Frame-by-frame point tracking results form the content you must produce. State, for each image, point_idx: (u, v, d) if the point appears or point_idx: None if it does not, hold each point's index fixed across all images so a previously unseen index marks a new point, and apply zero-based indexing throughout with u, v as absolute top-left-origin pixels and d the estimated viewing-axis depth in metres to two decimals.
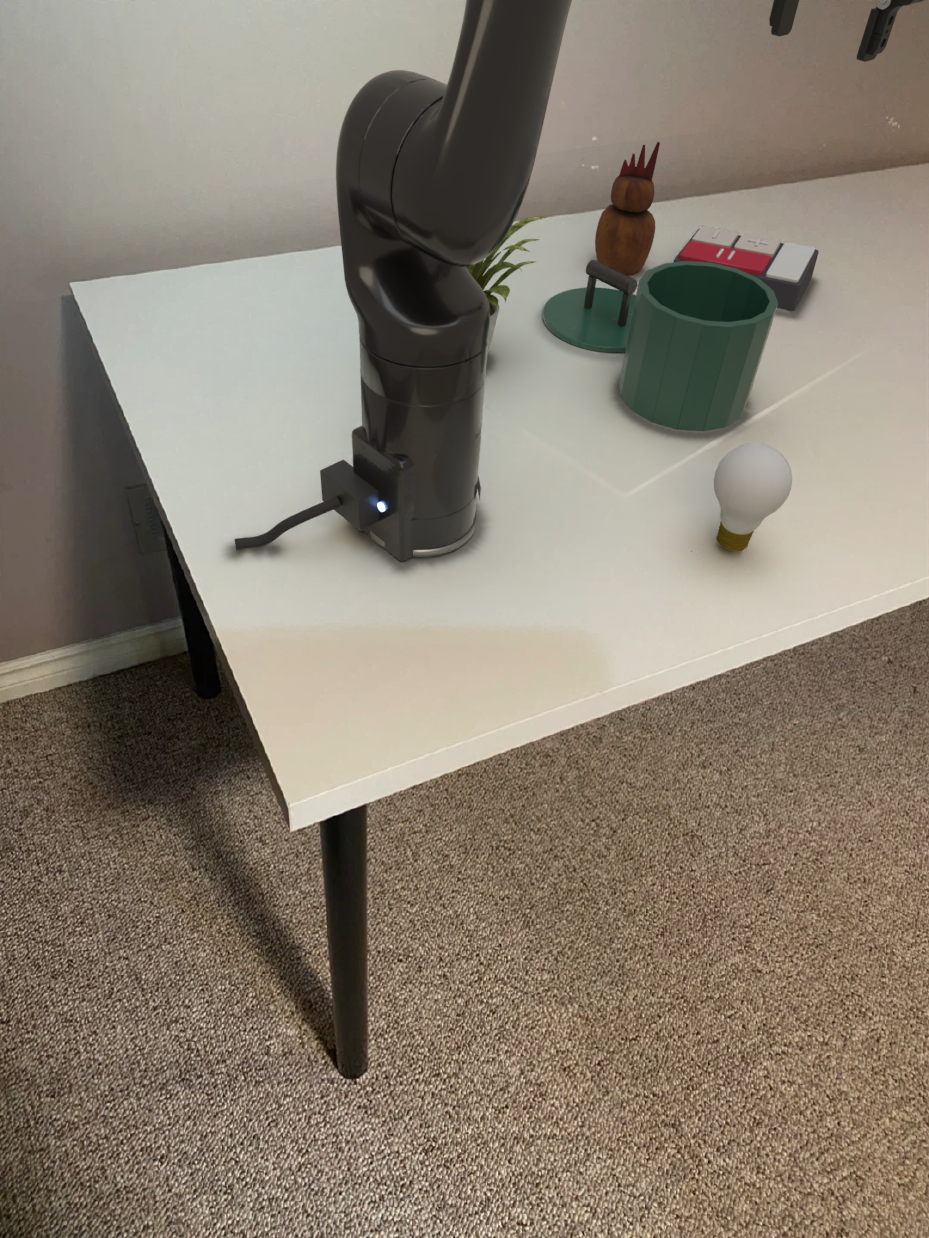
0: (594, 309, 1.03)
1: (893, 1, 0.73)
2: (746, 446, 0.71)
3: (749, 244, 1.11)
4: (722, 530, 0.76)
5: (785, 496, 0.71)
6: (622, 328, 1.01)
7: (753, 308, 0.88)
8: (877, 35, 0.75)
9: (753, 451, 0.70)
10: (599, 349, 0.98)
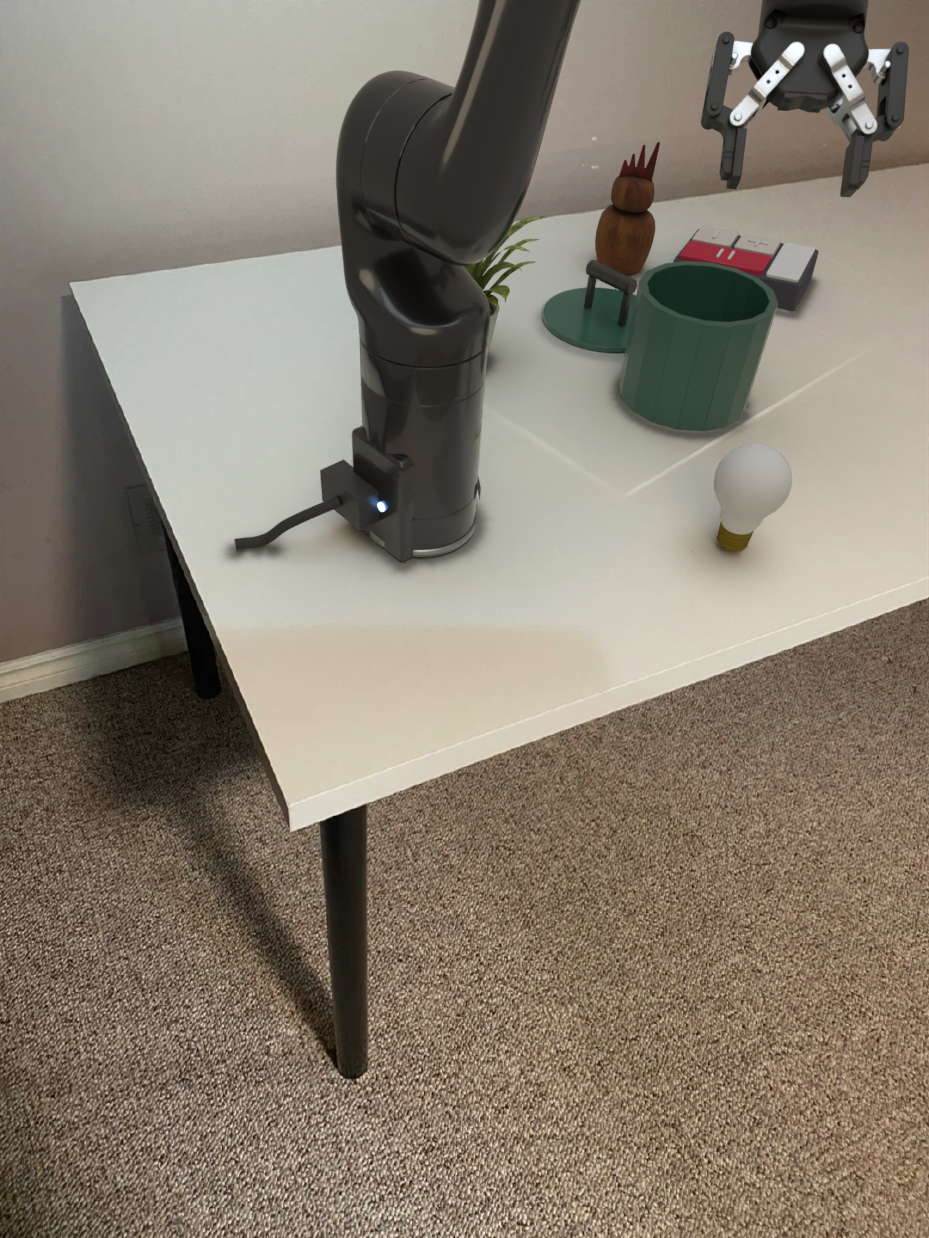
0: (594, 309, 1.03)
1: (875, 128, 0.68)
2: (746, 446, 0.71)
3: (749, 244, 1.11)
4: (722, 530, 0.76)
5: (785, 496, 0.71)
6: (622, 328, 1.01)
7: (753, 308, 0.88)
8: (864, 163, 0.68)
9: (753, 451, 0.70)
10: (599, 349, 0.98)
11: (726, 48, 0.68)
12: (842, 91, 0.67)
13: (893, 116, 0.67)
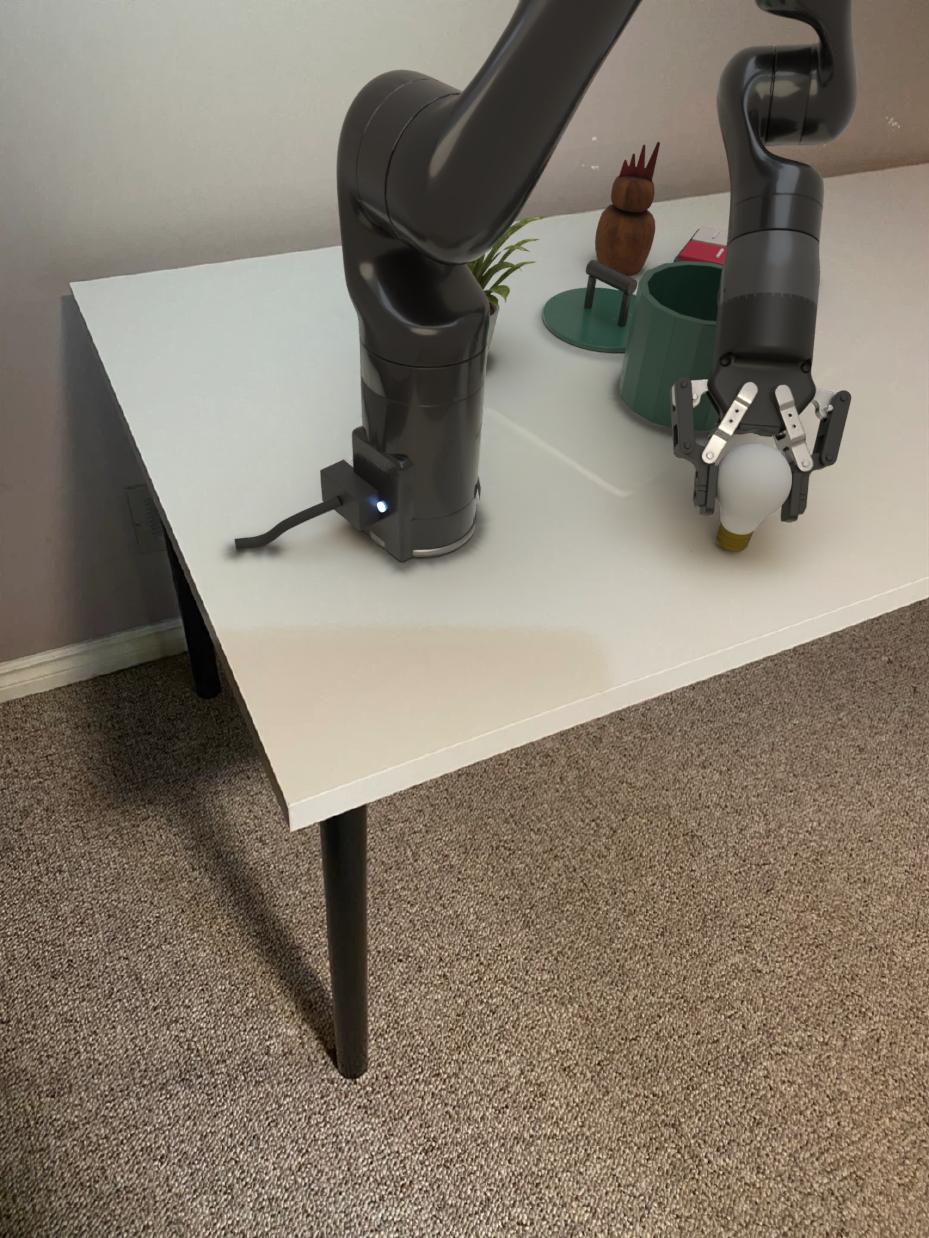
0: (594, 309, 1.03)
1: None
2: (746, 446, 0.71)
3: None
4: (722, 530, 0.76)
5: (785, 496, 0.71)
6: (622, 328, 1.01)
7: None
8: (802, 495, 0.72)
9: (753, 451, 0.70)
10: (599, 349, 0.98)
11: (686, 391, 0.72)
12: (786, 428, 0.71)
13: (827, 455, 0.71)
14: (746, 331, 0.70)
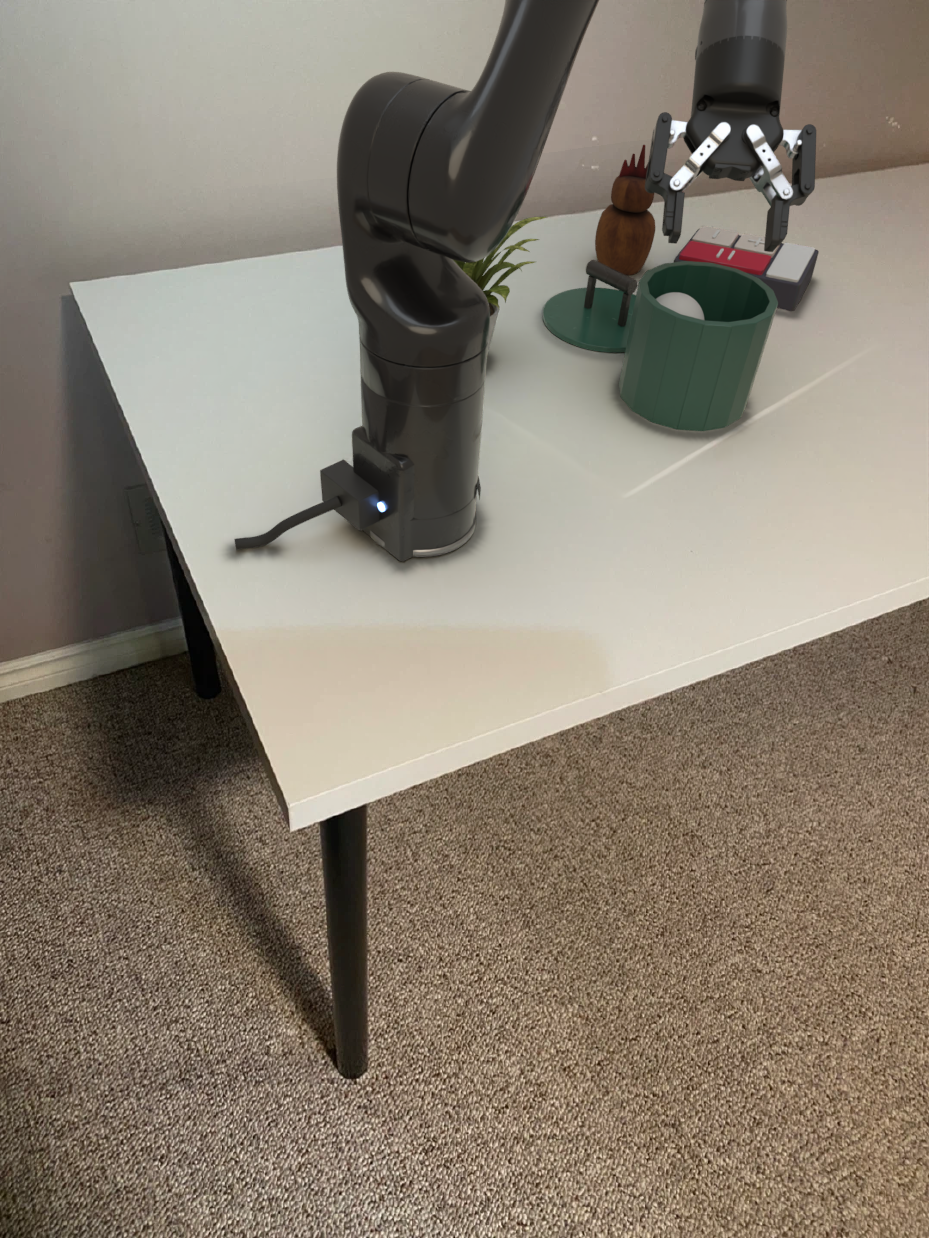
0: (594, 309, 1.03)
1: (791, 194, 0.80)
2: (659, 296, 0.87)
3: (749, 244, 1.11)
4: None
5: None
6: (622, 328, 1.01)
7: (753, 308, 0.88)
8: (783, 223, 0.80)
9: (663, 298, 0.87)
10: (599, 349, 0.98)
11: (665, 126, 0.80)
12: (763, 163, 0.79)
13: (806, 185, 0.79)
14: (720, 72, 0.78)
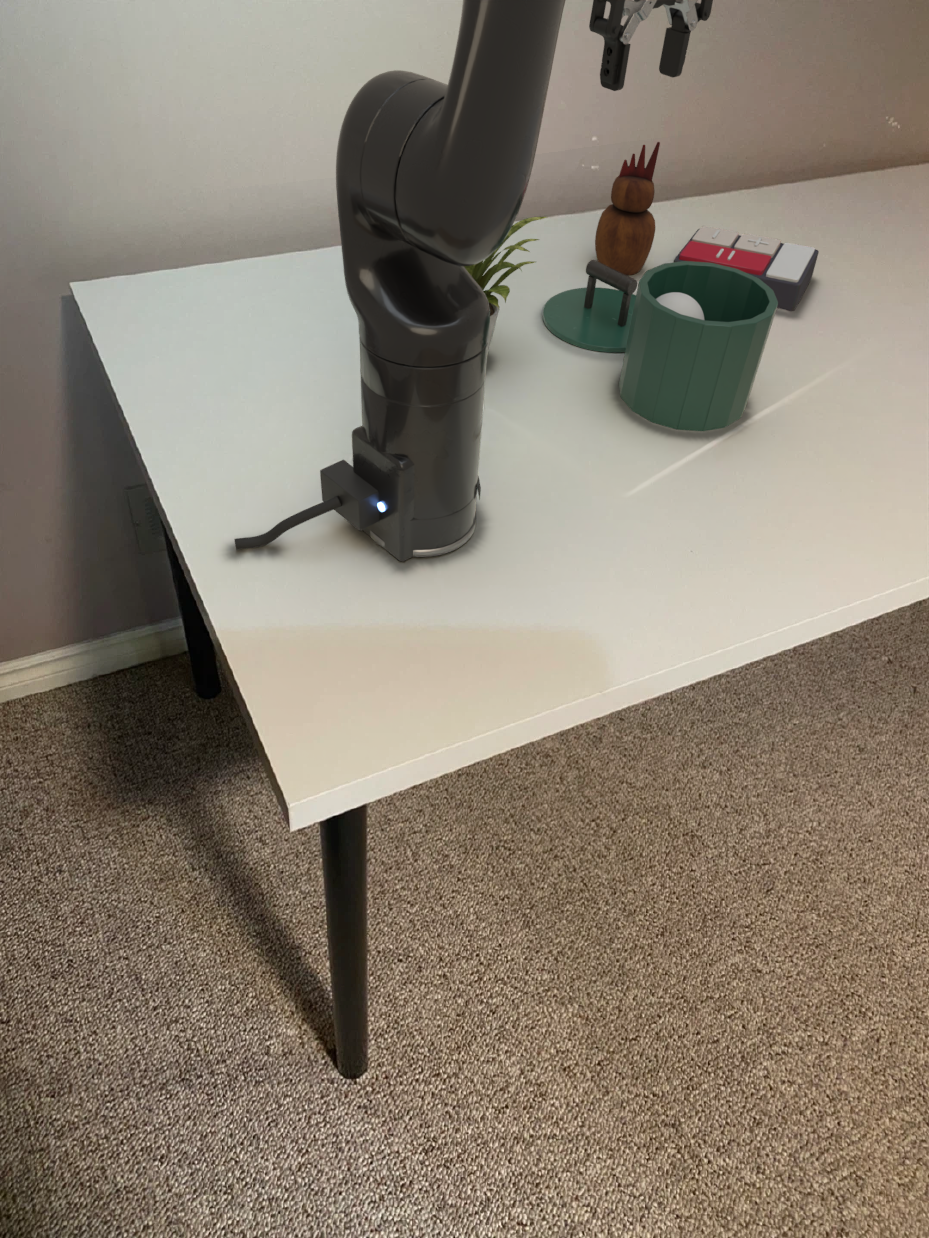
0: (594, 309, 1.03)
1: None
2: (659, 296, 0.87)
3: (749, 244, 1.11)
4: None
5: None
6: (622, 328, 1.01)
7: (753, 308, 0.88)
8: None
9: (663, 298, 0.87)
10: (599, 349, 0.98)
11: None
12: (687, 0, 0.81)
13: (706, 13, 0.85)
14: None
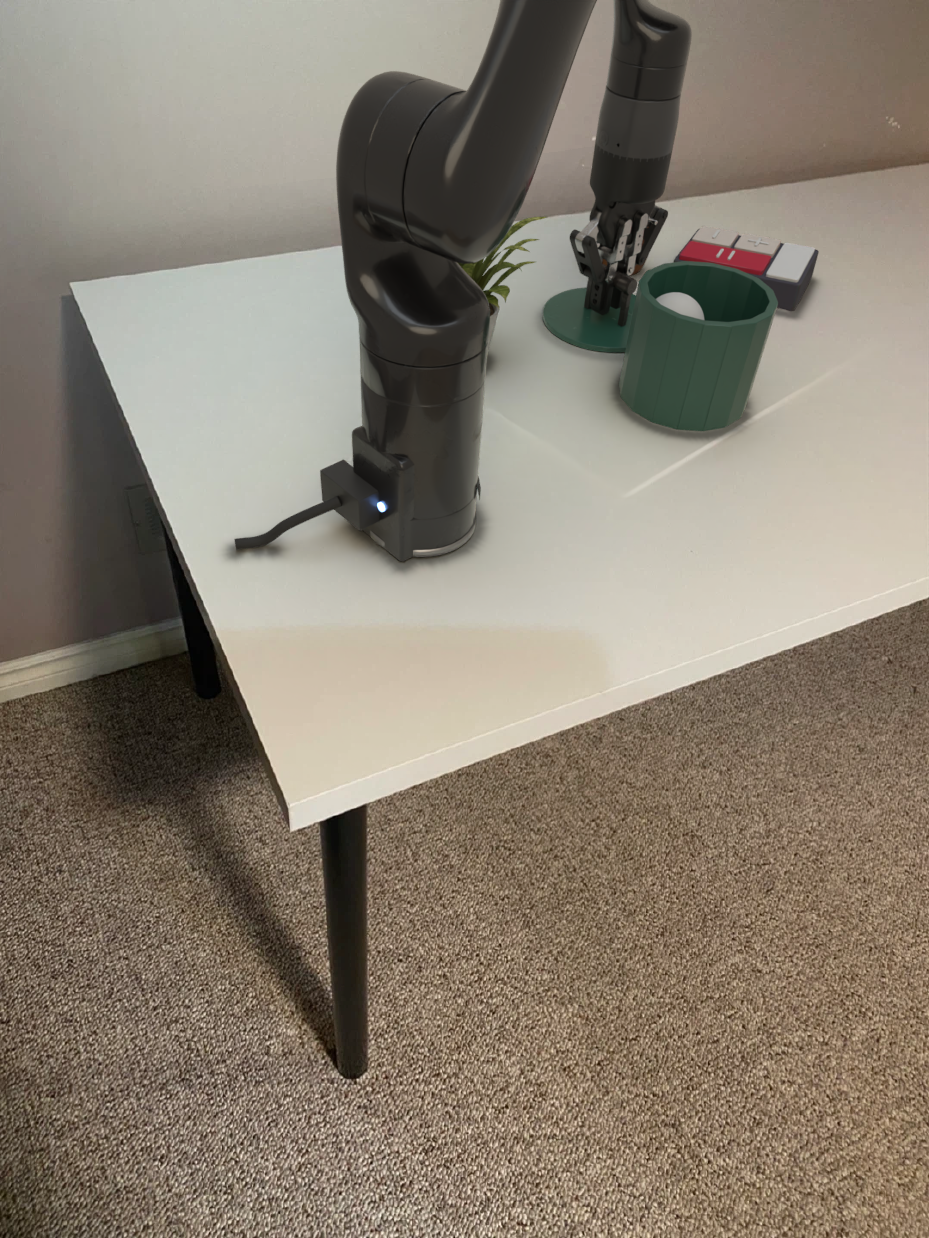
0: None
1: None
2: (659, 296, 0.87)
3: (749, 244, 1.11)
4: None
5: None
6: (622, 328, 1.01)
7: (753, 308, 0.88)
8: None
9: (663, 298, 0.87)
10: (599, 349, 0.98)
11: (593, 247, 0.92)
12: (634, 245, 0.96)
13: (642, 259, 0.99)
14: (638, 189, 0.89)
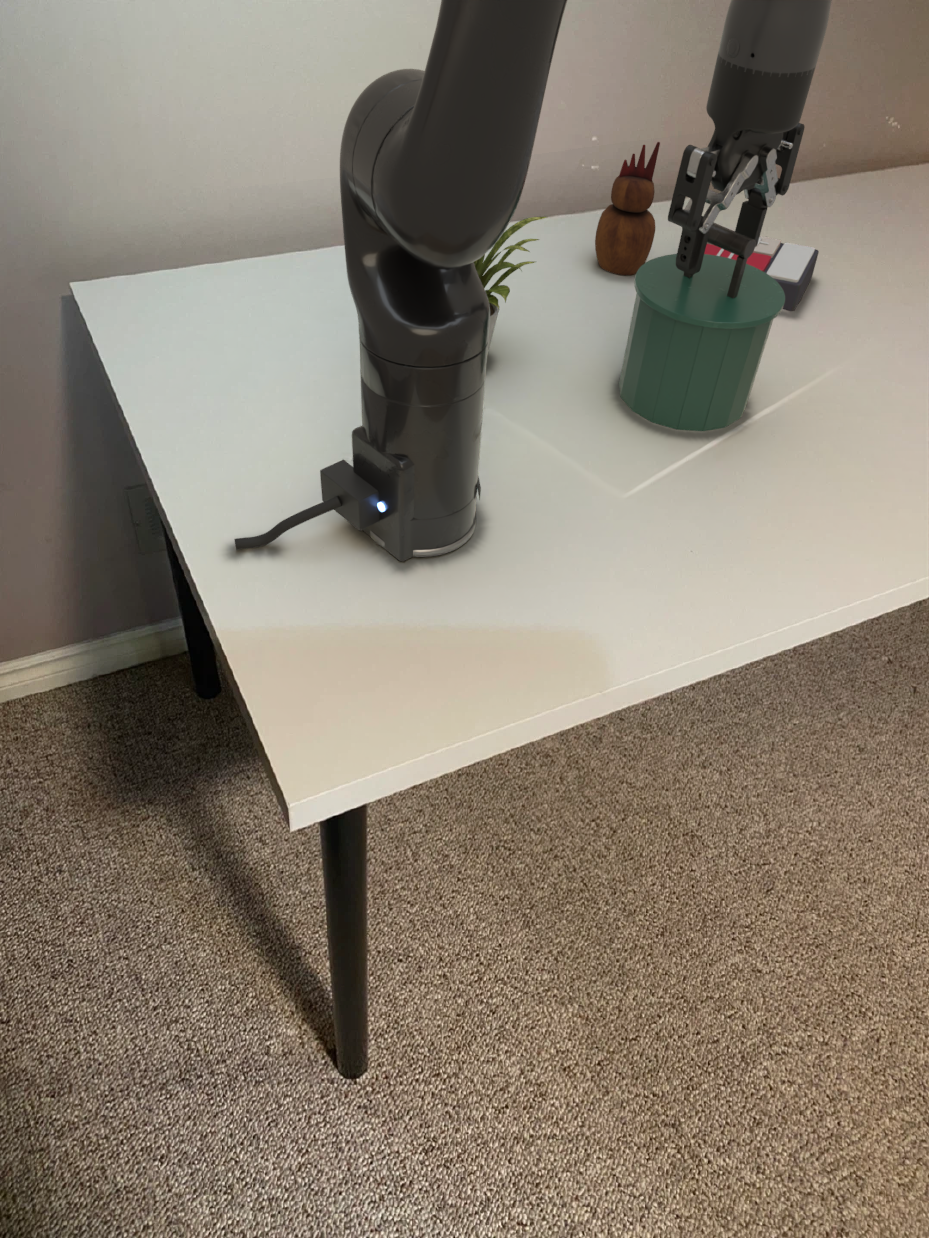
0: (695, 277, 0.86)
1: None
2: None
3: None
4: None
5: None
6: (733, 300, 0.83)
7: None
8: None
9: None
10: (709, 325, 0.80)
11: (710, 169, 0.73)
12: (767, 183, 0.79)
13: (785, 188, 0.82)
14: (772, 114, 0.71)
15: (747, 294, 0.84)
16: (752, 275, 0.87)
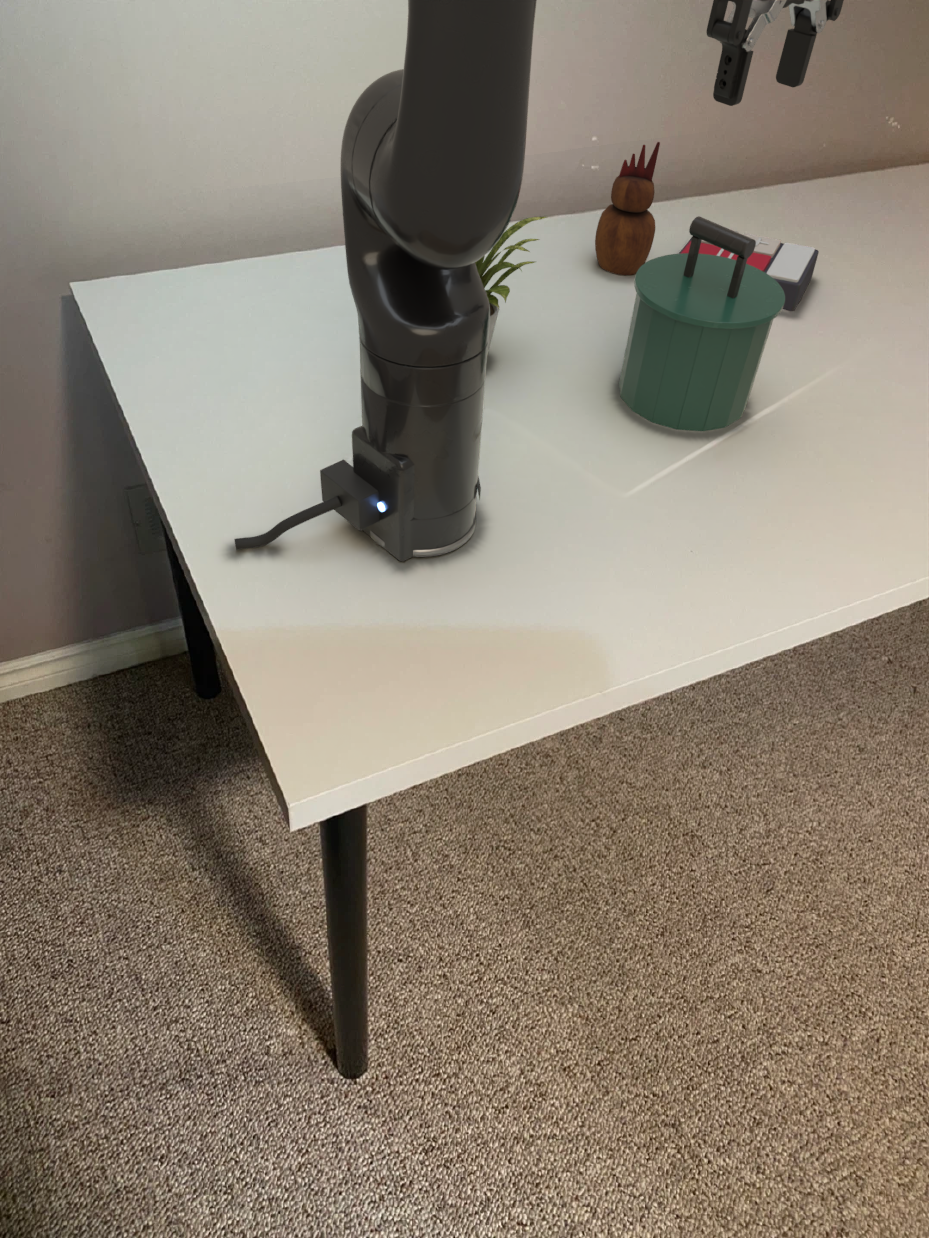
0: (695, 277, 0.86)
1: None
2: None
3: None
4: None
5: None
6: (733, 300, 0.83)
7: None
8: None
9: None
10: (709, 325, 0.80)
11: None
12: None
13: (837, 12, 0.72)
14: None
15: (747, 294, 0.84)
16: (752, 275, 0.87)
